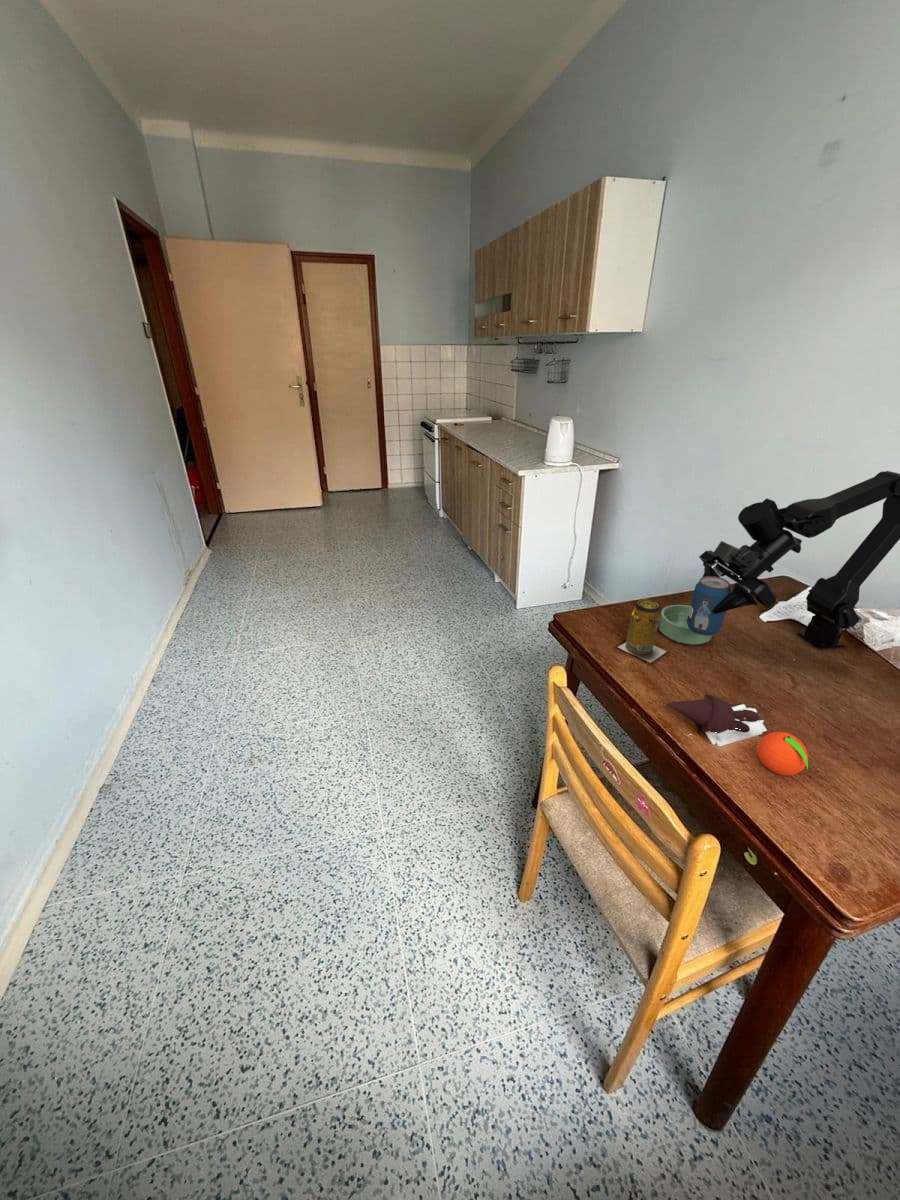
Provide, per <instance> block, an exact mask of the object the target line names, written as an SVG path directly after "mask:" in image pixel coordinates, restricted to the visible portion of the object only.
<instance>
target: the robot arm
mask: <svg viewBox="0 0 900 1200" xmlns="http://www.w3.org/2000/svg"><path fill="white" fill-rule="evenodd" d="M880 501H884V502H883V503H882V514H881V518H880V519H879V521H878V522H877V524H876V525H875V526H874V527H873V529H872V530H871V531H870V532H869V533H868V535H867V536H866V537H865V538H864V539H863V540H862V542H861V543H860V544H859V545H858V546H857V548H856V549H855V550H854V552H853V553H852V554H851V556H849V558H848V559H847V560H846V562H845V563H844V564H843V565H842V566H841V567H840V569H839V570H838V571H837V572H836V574H835V575H832V576H830V577H828V578H824V577H820V578H818V579H817V580H816V582H815V583H814V585H813V586H812V587H811V588H810V589H808V590H807V592H808V594H807V596H806V597H805V600H806V612H809V613H811V614H813V615H812V616H811V619H810V621H809V622H808V624H807V626H806V628H805V631H800V632H799V633H798V635H799V636H800V637H802V638H803V639H804V640H805V641H807V642H809V643H810V644H812V645H813V646H815V647H816V648H817V649H831V648H843V647H844V646H845V644H844V643H843V642H841V641H840V639H841V637H842V634H843V632H844V630H850V629H851V628H854V627H855V626H856V625H857V624H858V623H859V621H860V619H861V618H860V617H859V615H858V614H857V612H856V610H855V609H854V608H855V607H856V606H857V604H858V603H859V600H860V589H861V586H862V585H863V584H864V582H865V581H866V580H867V578H869V577H870V575H871V574H872V573H873V571H874V570H875V569H876V568H877V567H878V566H879V564H880V563H881V562H882V561H883V560H884V559H885V557H887V556H888V554H889V553H890V551H891V550H892V549H893V548H894V547H895V546H896V545H897V543H898V542H899V541H900V473H898V472H894V471H890V470H884V471H880V472H878V473H877V474H875V475H874V476H872V477H871V478H868V479H866V480H864V481H861V482H858V483H856V484H855V485H851V486H849V487H847V488H845V489H843V490H840V491H838V492H835V493H833V494H831V495H828V496H826V497H825V496H824V497H821V498H808V499H804V500H800V501H796V502H792V503H790V504H789V505H787V506H786V507H782V508H779V507H778V505H777V503H776V501H775V500H773V499H770V498H765V499H764V500H763V501H759V502H755V503H752V504H750V505H747V506H745V507H744V508H742V509H741V511H740V512H739V513H738V517H737V520H738V522H739V523H740V525H741V526H742V528H743V529H744V530H745V532H746V533H747V534H748V536H749V537H750V538H751V539H752V540H753V541H755V542H754V543H752V544H751V545H750V546H749V545H748V544H743V545H742V546H740V547H739V548H738V547H736V546H734V545H732V544H729V543H727V542H724V541H723V540H721V541H720V542H719V543H718V545H717V546H716V548H715V550H705V551H704V552H703V553H701V554H700V555H699V556H698V558H699V559H700V560H701V561H702V566H703V567H704V569H703V575H702V577H705V576H715V577H719V578H722V577H725V576H726V577H728V579H730V580H732V581H734V582H735V583H734V587H733V588H732V590H731V593H730V594H729V595H728V596H727V597H726V598H725V599H723V600H722V601H721V602H720V603H719V604H718V605H717V606H716V607H715V608H714V609H713V610H712V611H713V612H714V613H715V614H717V613H720V612H724V611H726V612H727V611H731V610H734V609H738V608H741V607H742V608H743V607H748V606H752V605H754V606H758V605H759V604H760V605H761V606H763V607H765V608H766V609H769V608H771V606H773V605H774V604H776V601H777V597H778V596H777V594H776V592H775V591H773V589H772V587H770V585H769V584H768V583H767V582H765V581H763V580H761V579H760V578H759V577H760V576H761V575H763V574H764V572H768V573H771V572H773V571H774V570H775V568H774V567H773V565H774V564H775V563H777V562H778V561H779V560H780V559H782V558H783V557H784V556H785V555H786V554H788V553H789V552H790V551H792V552H794V553H796V554H800V553H801V550H802V542H803V540H802V539H800V538H798V537H796V536H794V535H793V533H795V534H797V535H800V536H802V537H804V538H808V539H811V538H815V537H817V536H819V535H820V534H821V535H822V534H823V533H824V532H826V531H827V530H830V529H831V528H832V527H833V526H834V524H835V523H836V521H837V520H839V519H840V518H842V517H844V516H845V517H846V516H847V515H849V514H851V513H854V512H857V511H859V510H862V509H864V508H866V507H868V506H872V505H874V504H875V503H878V502H880ZM792 532H793V533H792ZM693 594H694V592H693V593H692V597H693Z"/></svg>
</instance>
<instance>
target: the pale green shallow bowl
mask: <svg viewBox="0 0 900 1200" xmlns="http://www.w3.org/2000/svg"><path fill="white" fill-rule="evenodd" d="M690 606H691V605H687V604H670V605H668V606H665V607H663V608H662V609H661V612H660V615H659V617H660V619H659V624H658V630H659V631H660V633H661V634H663V635H664V636H665V637H666V638H668V639H670V640H671V641H674V642H677V643H680V644H685V645H703V644H706V643H708V642H709V641H711V640H712V638H713V635H712V636H702V635H698V634H696V633H694V632H692V631H691V630H690V629H689V627H688V624H687V618H688V614H689V610H690Z"/></svg>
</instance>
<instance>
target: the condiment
mask: <svg viewBox="0 0 900 1200" xmlns="http://www.w3.org/2000/svg"><path fill="white" fill-rule="evenodd" d="M660 610H661V606H660V604H659V603H658V602H656V601H655V600H653V599H646V598H645V599H644V598H643V599H638V600H637V601H636V602H635V605H634V608H633V611H632V612H631V615H630V619H629V625H628V629H627V635H626V641H625V642H624V643H622V644H620V645H618V646H617V648H618V649H620V650H622V651H624V652H626V653H628V654H630V655H632V656H635V657H638V658H639V659H641V660H642V661H643V660H644V661H646V662H647V663H650V664H651V663H652V662H654V661H655V660H657V659H659V658H660V657H661V656H663V655H664V654H665V653H667V650H665V649H663V648H661V647H660V646H659V647H658V646H657V645H655V642H656V638H657V637H656V635H657V631H658V629H659V627H658V624H659V620H660Z"/></svg>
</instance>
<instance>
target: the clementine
mask: <svg viewBox="0 0 900 1200" xmlns="http://www.w3.org/2000/svg"><path fill="white" fill-rule="evenodd" d="M756 747H757V748H756V750H757V752H756V753H757V756H758V758H759V761H760V762H761V764H762V765H763V766H764V767H765V768H766V769H767V770H769V771H771V772H772V773H774V774H777V775H781V776H793V775H794V776H795V775H797V774H799V773H801V772H802V771H803V770H804V769H805V768H806V769H809V763H808V760H809V754H808V750H807V748H806V746H805V744H804V743H803V741H802V740H800V739H799V738H798V737H796V736H794V735H793V734H792V733H789V732H784V731H773V732H769V733H766V734H765V735H763V736H762V737H761V738H760V740H759V741H758V744H757V746H756Z"/></svg>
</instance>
